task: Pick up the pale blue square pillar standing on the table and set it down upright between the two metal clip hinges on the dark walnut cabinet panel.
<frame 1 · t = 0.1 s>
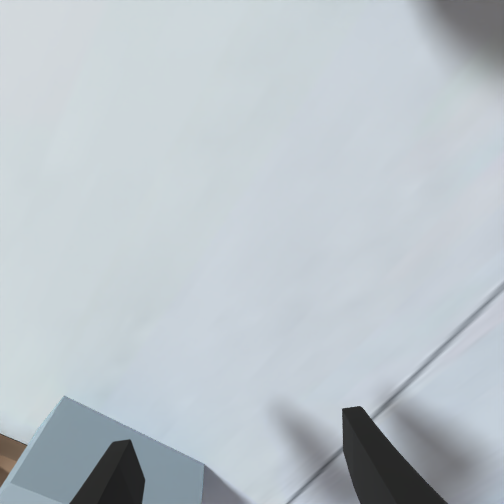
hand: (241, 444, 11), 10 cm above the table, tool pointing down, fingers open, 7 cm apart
pale blue square pillar: (126, 444, 24), on the table
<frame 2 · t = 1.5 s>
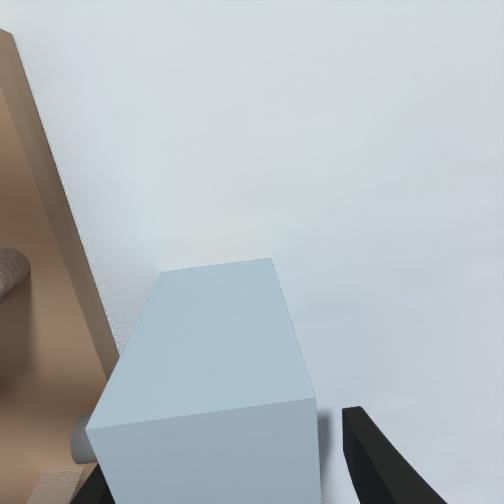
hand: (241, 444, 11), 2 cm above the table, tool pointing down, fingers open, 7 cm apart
pale blue square pillar: (239, 401, 13), on the table
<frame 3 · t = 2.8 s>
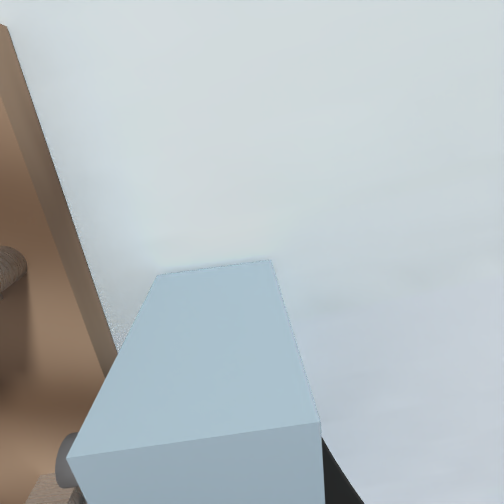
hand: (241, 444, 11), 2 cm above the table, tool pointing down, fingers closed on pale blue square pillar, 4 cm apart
pale blue square pillar: (239, 409, 12), on the table, touching gripper
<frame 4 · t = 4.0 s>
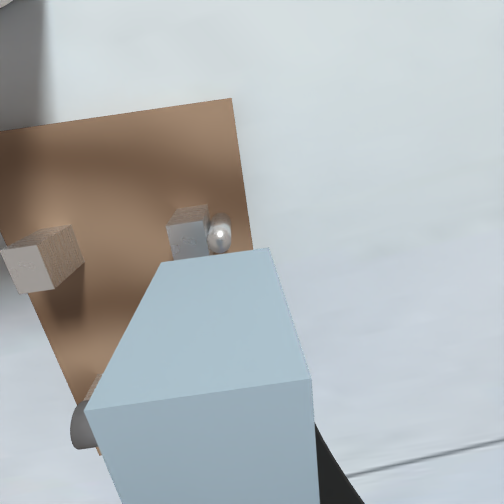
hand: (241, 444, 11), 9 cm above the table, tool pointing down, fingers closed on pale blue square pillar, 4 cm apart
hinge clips: (155, 327, 16), on the cabinet panel, point 3 cm above the table
pale blue square pillar: (239, 393, 13), point 7 cm above the table, touching gripper
cabinet panel: (156, 301, 19), on the table
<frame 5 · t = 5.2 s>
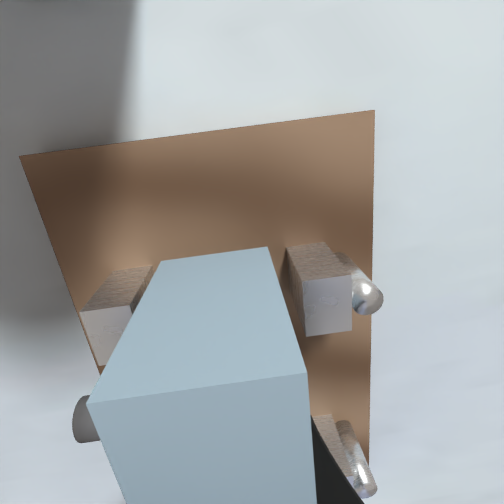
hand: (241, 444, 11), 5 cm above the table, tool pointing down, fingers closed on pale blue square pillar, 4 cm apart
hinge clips: (251, 393, 13), on the cabinet panel, point 3 cm above the table
pale blue square pillar: (238, 390, 13), point 3 cm above the table, touching gripper
cabinet panel: (238, 351, 15), on the table
when the fingers open (4 cm above the table, at t = 5.8 s): pale blue square pillar stays where it is, resting on cabinet panel.
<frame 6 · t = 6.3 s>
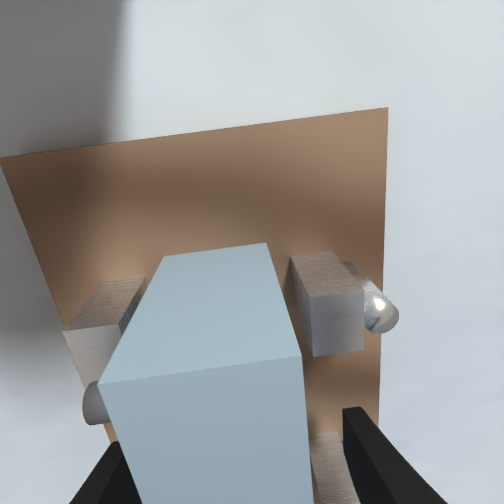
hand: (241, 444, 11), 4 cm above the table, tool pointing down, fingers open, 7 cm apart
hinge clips: (253, 413, 12), on the cabinet panel, point 3 cm above the table
pale blue square pillar: (238, 382, 13), point 1 cm above the table, touching cabinet panel
cabinet panel: (238, 365, 15), on the table
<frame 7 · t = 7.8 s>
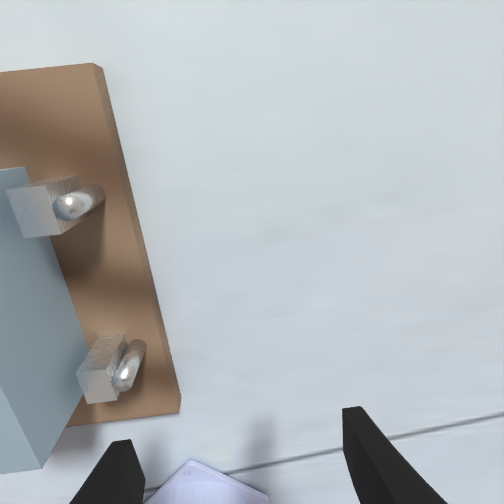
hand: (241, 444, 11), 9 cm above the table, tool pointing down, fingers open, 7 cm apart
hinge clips: (24, 300, 16), on the cabinet panel, point 3 cm above the table
pale blue square pillar: (31, 285, 17), point 1 cm above the table, touching cabinet panel
cabinet panel: (44, 278, 18), on the table
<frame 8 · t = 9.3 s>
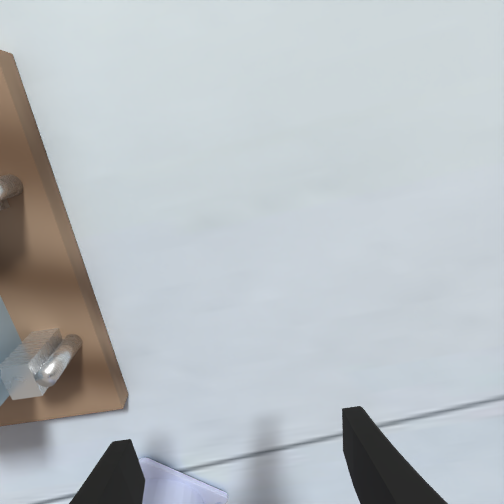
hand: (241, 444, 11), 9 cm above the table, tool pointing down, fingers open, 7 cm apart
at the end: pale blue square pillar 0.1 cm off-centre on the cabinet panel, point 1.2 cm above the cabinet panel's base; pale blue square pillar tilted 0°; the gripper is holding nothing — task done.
